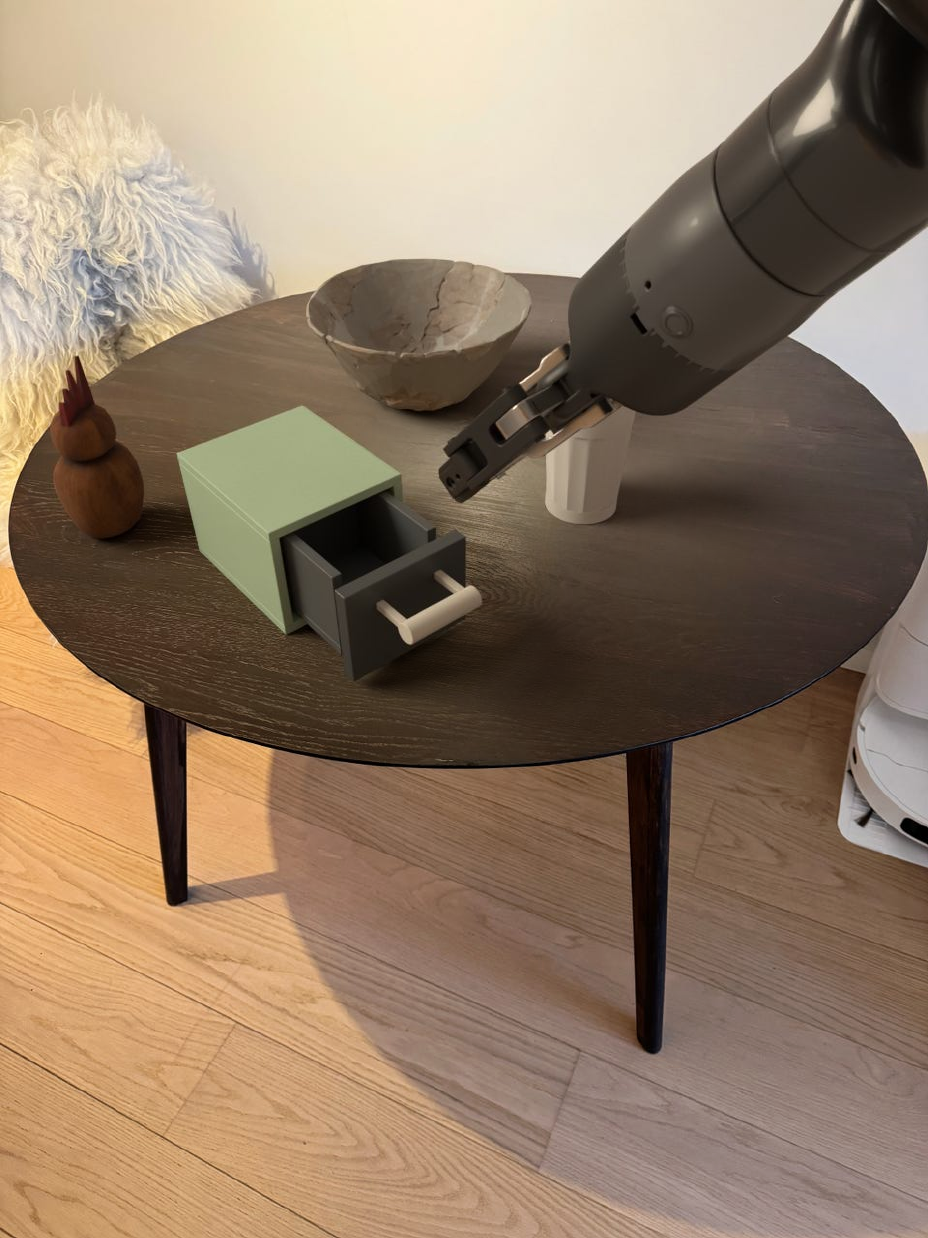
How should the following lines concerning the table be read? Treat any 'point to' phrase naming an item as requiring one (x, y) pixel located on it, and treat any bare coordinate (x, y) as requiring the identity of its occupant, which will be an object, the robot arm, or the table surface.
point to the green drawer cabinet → (274, 497)
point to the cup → (588, 470)
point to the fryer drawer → (376, 580)
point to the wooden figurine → (93, 464)
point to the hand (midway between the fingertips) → (503, 454)
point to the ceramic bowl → (419, 327)
